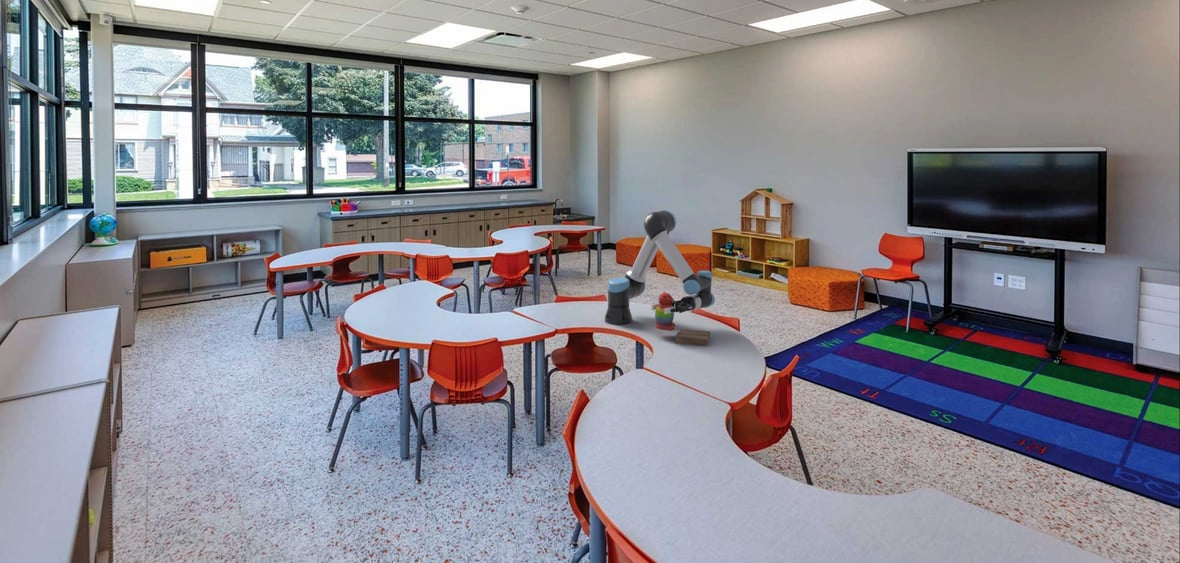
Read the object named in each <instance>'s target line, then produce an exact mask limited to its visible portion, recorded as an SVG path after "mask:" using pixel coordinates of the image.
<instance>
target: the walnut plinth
mask: <svg viewBox="0 0 1180 563" xmlns="http://www.w3.org/2000/svg"><path fill="white" fill-rule="evenodd" d="M709 338H711V331H710V330H709V331H707V330H696V329H685V328H684V329H683V328H682V329H679V331H678V333H676V336H675V344H678V343H679V345H691V346H702V345H704V347H707V346H708V344H709V341H710V339H709ZM705 345H706V346H705Z"/></svg>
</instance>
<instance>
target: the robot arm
mask: <svg viewBox="0 0 1180 563" xmlns="http://www.w3.org/2000/svg"><path fill="white" fill-rule="evenodd" d="M676 226H677V219H676V216H675V214H674V213H673V212H672V211H669V210H665V209H663V210H660V211H651V212H650V213H648V214H647V215H646V216H645V217H644V220H643V228H644V231H645V233H646V234H647V235H646V237H645V239H644V242H643V244H642V246H641V248H640V250H639V252H638V255H637V256H636V258H635V261H634V263H633V265H632V267H631V269H630V270H628V271H627V272H626V273H625V276H624V277H618V276H617V277H614V278H613V277H612V278H611V279H610V280H609V281H608V285H607V310H606V312H605V315H604V322H605V321H606V322H605V323H607V322H608V324H610V323H611V325H628V324H631V323H632V322H633V315H632V312H631V309H630V300H632V299H634V298H638V297H639V296H641V295H642V294H643V293H644V292H645V290H646V281H647V278H646V276H647V272H648V271H649V269H650V266H651V264H652V263H653V261H654V259H655V257H656V254H657V253H658V250H660V252H661V254H662V255H663V256H664V257H665V259H666V261H667V262H668V263H669V265H670V266H671V268H672V269H673V271H674V272H675V273H676V275H677V276H678V277H679V279H680V281H681V282H682V285H683V290H684V293H686V294H687V296H683V297H682V298H681V299H680V300H679V299H678V300H674V301H673V302H672V303H671V305H672V307H670V308H665V312H664V314H669V313H674V314H675V313H679V314H683V313H685V312H690V311H695V310H698V309H699V310H700V309H704V308H709V307H711V306H713V305H714V304H715V302H716V297H715V295H714V294H713V293H712V280H713V275H712V274H713V273H712V272H711V271H710V270H698V271H697V272H696V274H695V273H694V270H692V268H691V267H690V264H688V262H687V261H686V259H685V258H684V256H683V255H682V253H681V252H680V250H679V249H678V247H677V245H675V243H674V242H673V240H672V239H671V238H670V236H669V235H670V232H672V231H673V230H674V229H675V228H676ZM658 304H660V303H659V301H658V303H653V304H651V311H656V308H657V306H658Z"/></svg>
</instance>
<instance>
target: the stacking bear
mask: <svg viewBox="0 0 1180 563" xmlns="http://www.w3.org/2000/svg"><path fill="white" fill-rule="evenodd" d="M673 301H675V299H674V298H673V296H671V294H670V293H668V292H666V291H664V292H662V293H661V294H660V295H659V296H658V302H659V303H660V304H658V303H657V304H658V306H657V308H656V310H654V311H655V312H654V319H655V324H654V327H655V329H658V330H661V331H670V332H671V331H674V330H675V327H676V323H674V317H675V316H674V315H675V312H674V313H669V314H664V312H665V308H670V307H672V305H671V303H672V302H673Z"/></svg>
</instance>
